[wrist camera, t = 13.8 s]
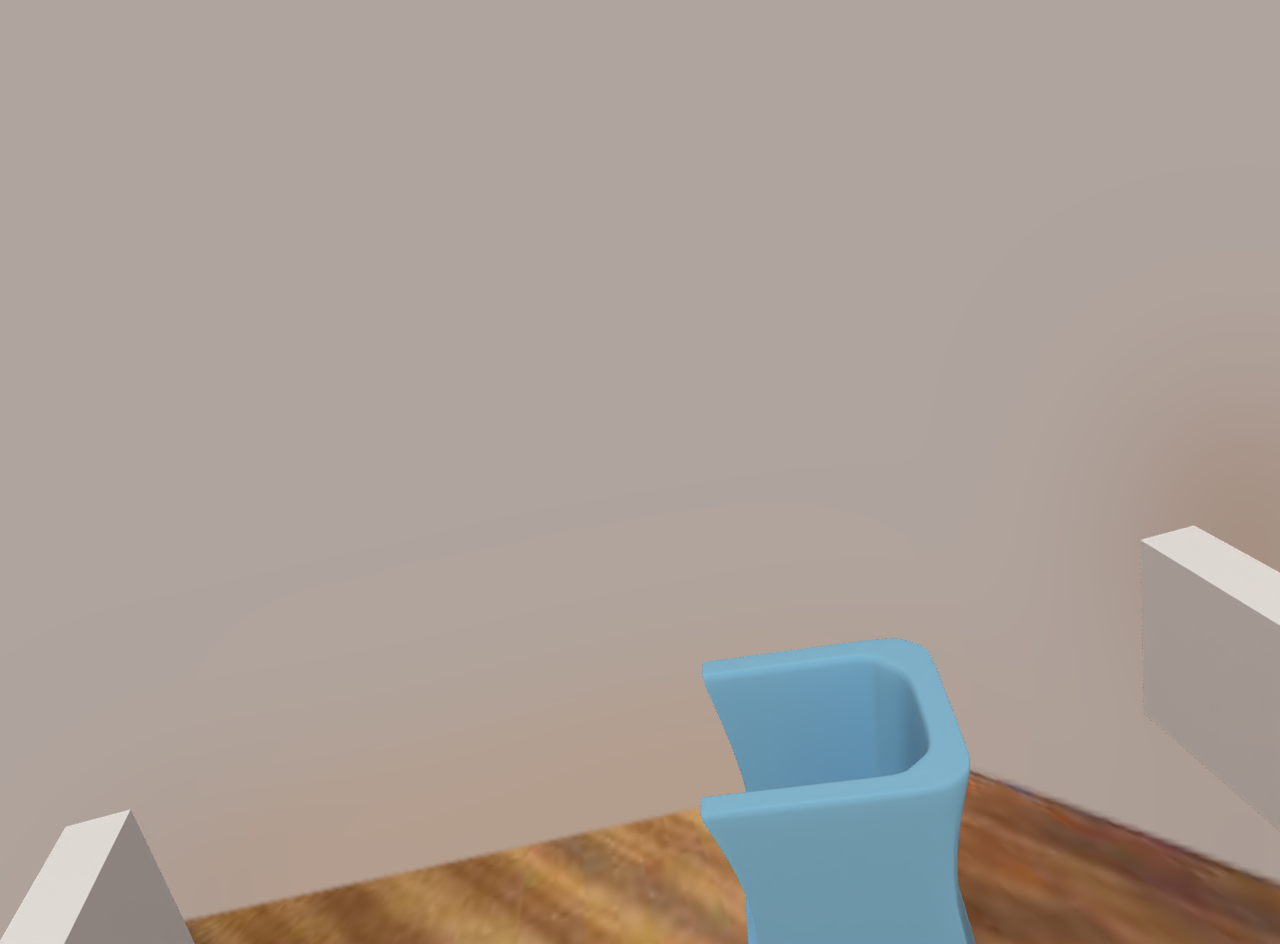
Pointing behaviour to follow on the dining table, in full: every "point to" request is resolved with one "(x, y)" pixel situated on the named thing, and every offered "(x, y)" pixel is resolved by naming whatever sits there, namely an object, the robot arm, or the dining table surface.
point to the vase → (842, 794)
